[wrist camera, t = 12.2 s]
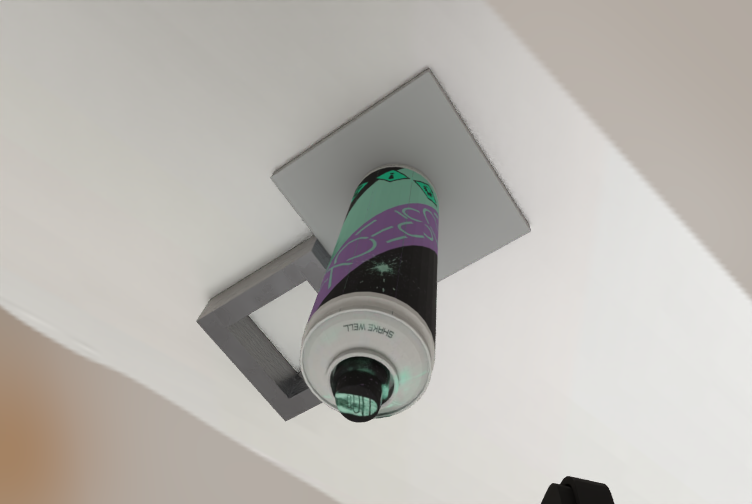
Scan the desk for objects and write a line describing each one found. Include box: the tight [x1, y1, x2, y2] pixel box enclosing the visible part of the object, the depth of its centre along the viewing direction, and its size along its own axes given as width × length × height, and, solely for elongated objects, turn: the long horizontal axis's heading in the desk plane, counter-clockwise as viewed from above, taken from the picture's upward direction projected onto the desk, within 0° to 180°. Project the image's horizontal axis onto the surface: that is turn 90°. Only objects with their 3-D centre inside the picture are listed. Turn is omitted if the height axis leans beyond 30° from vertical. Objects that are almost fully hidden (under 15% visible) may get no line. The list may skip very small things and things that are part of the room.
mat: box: [270, 69, 531, 282], centre depth 42 cm, size 12×12×1 cm
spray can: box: [300, 164, 439, 422], centre depth 33 cm, size 6×6×20 cm
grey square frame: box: [196, 235, 331, 421], centre depth 46 cm, size 10×10×3 cm
